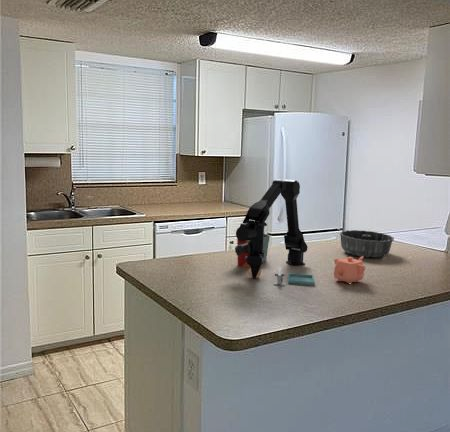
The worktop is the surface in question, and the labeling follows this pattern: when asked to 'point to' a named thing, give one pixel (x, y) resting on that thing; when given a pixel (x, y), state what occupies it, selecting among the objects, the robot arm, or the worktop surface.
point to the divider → (279, 276)
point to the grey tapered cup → (265, 246)
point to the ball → (257, 274)
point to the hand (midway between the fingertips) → (254, 275)
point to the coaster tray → (301, 279)
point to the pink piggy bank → (349, 269)
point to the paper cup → (242, 256)
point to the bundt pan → (366, 243)
